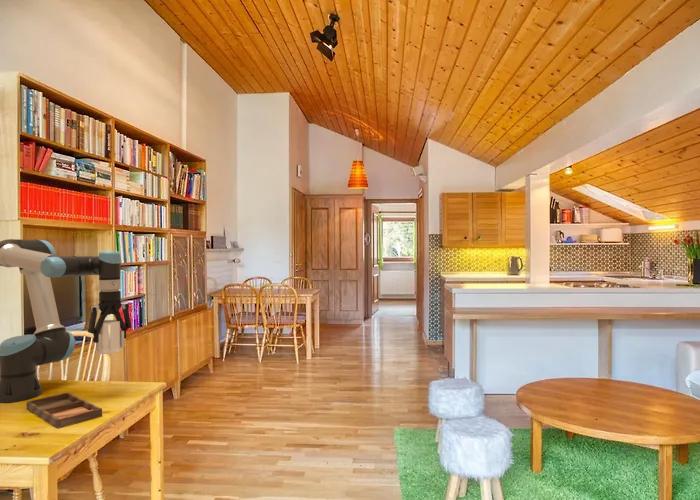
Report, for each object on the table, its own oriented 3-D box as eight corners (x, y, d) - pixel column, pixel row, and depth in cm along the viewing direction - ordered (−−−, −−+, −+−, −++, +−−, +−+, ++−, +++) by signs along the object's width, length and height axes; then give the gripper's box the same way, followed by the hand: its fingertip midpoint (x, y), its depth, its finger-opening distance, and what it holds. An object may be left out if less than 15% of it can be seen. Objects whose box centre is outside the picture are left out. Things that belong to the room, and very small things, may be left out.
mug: (120, 354, 175) (120, 323, 175) (94, 356, 171) (94, 324, 171) (121, 348, 185) (121, 319, 185) (97, 350, 182) (97, 320, 182)
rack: (26, 408, 166) (26, 400, 166) (68, 399, 177) (68, 391, 177) (57, 428, 147) (57, 419, 147) (102, 416, 158) (102, 407, 158)
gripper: (85, 293, 168) (85, 355, 168) (140, 289, 184) (141, 345, 184) (76, 292, 173) (77, 352, 173) (132, 288, 189) (132, 343, 189)
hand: (110, 348), depth 179 cm, fingers closed on mug, 8 cm apart
